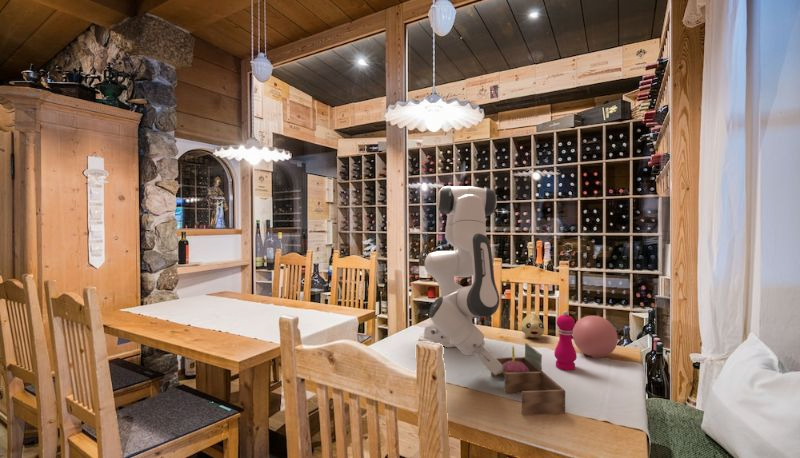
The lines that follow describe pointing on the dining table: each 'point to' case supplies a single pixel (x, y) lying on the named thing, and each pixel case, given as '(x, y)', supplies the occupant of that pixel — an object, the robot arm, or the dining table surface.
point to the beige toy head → (532, 326)
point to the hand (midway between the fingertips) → (500, 370)
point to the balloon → (595, 336)
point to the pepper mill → (565, 343)
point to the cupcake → (514, 366)
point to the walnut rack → (534, 385)
